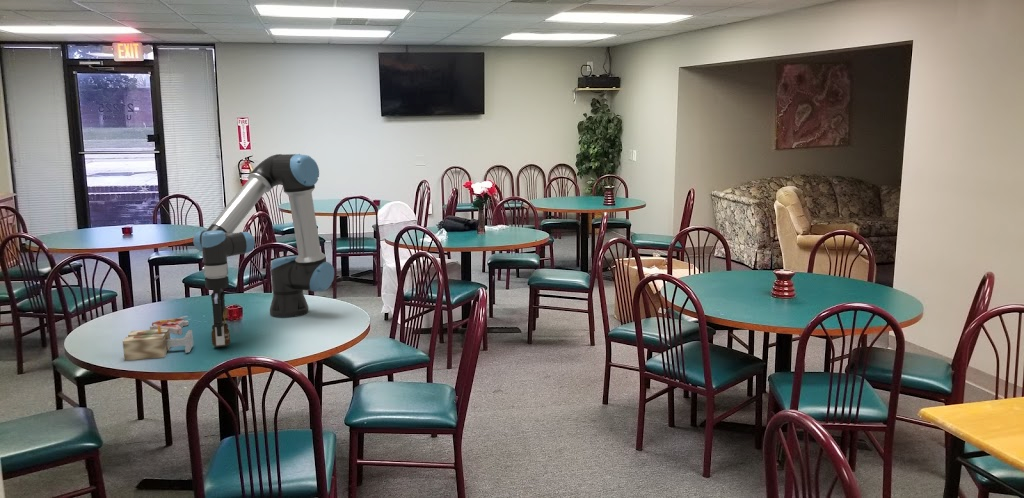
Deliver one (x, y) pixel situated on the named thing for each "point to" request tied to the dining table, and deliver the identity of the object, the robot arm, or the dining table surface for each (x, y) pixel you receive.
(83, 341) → the dining table surface
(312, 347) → the dining table surface
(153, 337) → the beige box
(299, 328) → the dining table surface
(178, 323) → the toy
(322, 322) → the dining table surface
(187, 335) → the grey flanged cylinder
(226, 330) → the utensil holder
